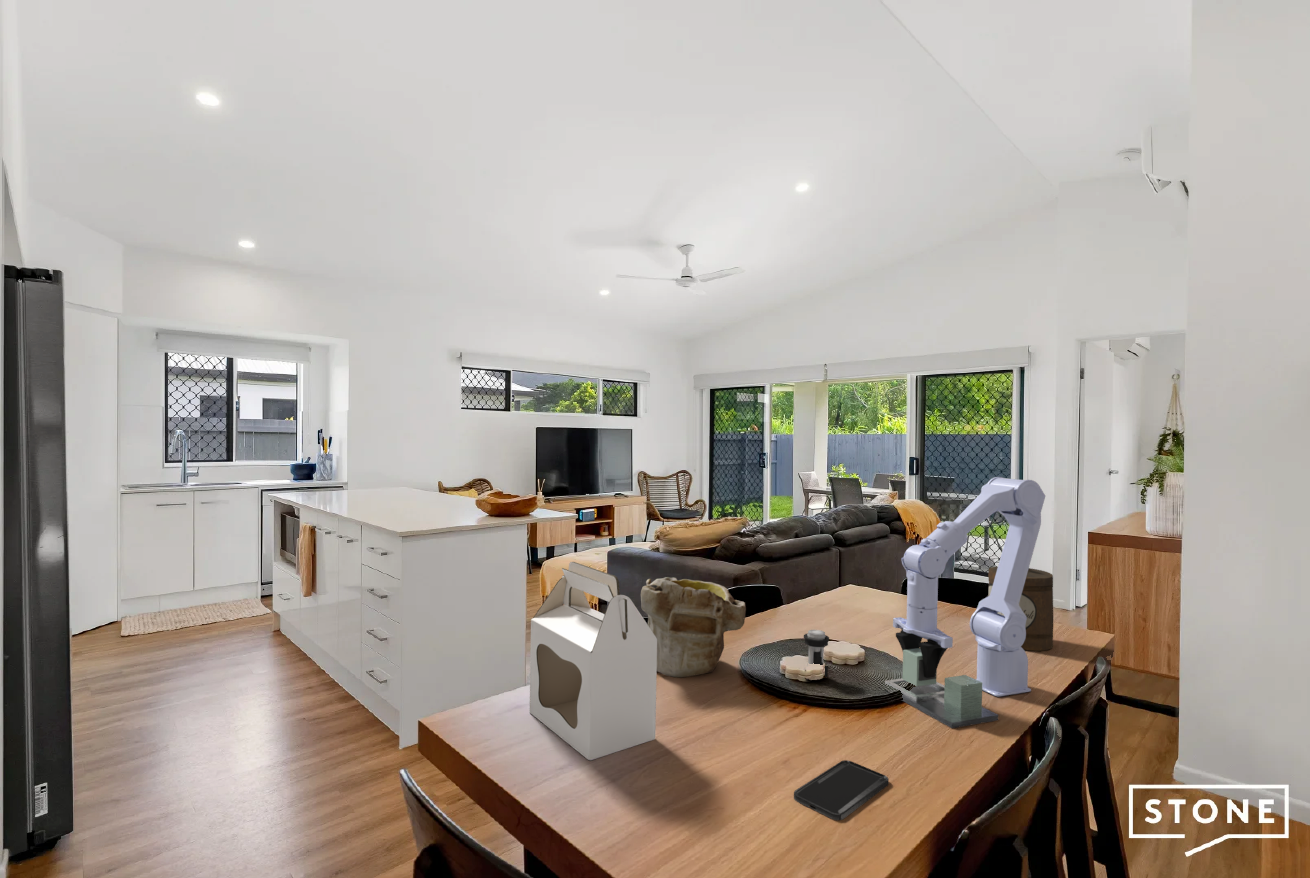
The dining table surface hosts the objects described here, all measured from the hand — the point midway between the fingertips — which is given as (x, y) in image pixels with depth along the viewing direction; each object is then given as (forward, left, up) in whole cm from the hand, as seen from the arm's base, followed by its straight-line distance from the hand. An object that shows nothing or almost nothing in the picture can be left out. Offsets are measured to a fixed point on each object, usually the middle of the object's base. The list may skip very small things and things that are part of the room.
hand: (920, 672), depth 133 cm
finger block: (0, 0, -2) cm, 2 cm away
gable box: (+67, -7, -5) cm, 68 cm away
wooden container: (-50, -20, -5) cm, 54 cm away
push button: (+16, -14, -5) cm, 22 cm away
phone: (+37, +25, -5) cm, 45 cm away
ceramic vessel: (+38, -28, -5) cm, 47 cm away
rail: (0, +4, -5) cm, 6 cm away
